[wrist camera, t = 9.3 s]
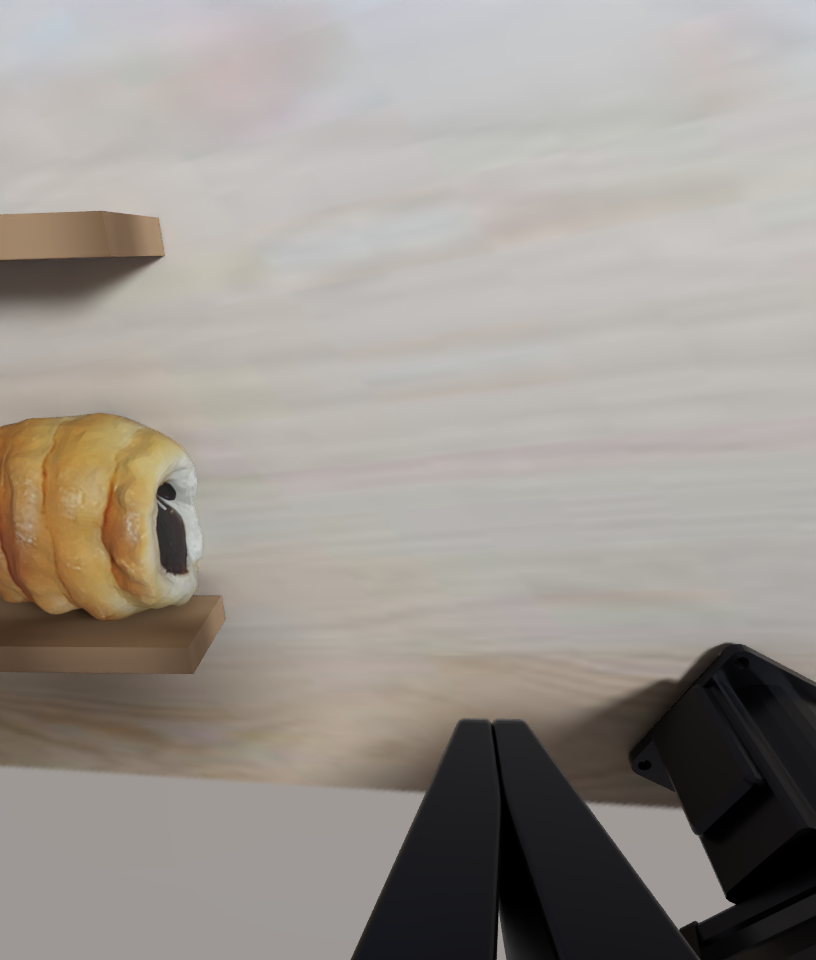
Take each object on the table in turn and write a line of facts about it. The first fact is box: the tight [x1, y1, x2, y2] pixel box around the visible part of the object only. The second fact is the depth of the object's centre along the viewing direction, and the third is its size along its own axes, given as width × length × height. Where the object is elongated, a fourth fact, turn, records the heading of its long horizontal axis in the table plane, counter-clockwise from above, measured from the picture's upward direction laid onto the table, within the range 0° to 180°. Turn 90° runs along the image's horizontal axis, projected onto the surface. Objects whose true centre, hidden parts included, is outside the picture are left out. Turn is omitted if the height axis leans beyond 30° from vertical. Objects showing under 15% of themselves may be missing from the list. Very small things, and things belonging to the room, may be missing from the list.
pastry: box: [0, 413, 203, 621], centre depth 19 cm, size 9×7×4 cm
